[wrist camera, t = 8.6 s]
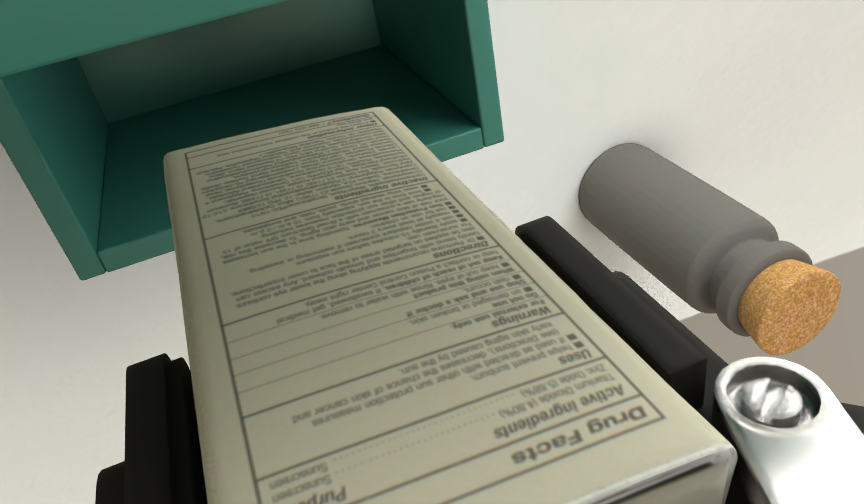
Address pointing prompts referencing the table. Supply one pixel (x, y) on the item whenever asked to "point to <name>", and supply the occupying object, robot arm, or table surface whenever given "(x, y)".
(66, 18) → the lunchbox lid
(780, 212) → the table surface
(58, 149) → the lunchbox
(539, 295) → the box
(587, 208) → the bottle
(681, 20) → the table surface
